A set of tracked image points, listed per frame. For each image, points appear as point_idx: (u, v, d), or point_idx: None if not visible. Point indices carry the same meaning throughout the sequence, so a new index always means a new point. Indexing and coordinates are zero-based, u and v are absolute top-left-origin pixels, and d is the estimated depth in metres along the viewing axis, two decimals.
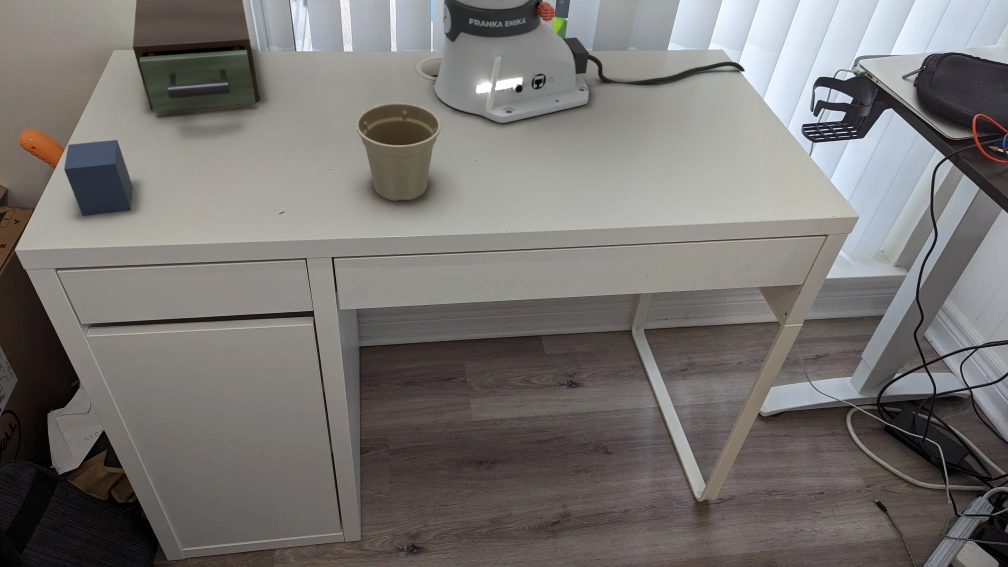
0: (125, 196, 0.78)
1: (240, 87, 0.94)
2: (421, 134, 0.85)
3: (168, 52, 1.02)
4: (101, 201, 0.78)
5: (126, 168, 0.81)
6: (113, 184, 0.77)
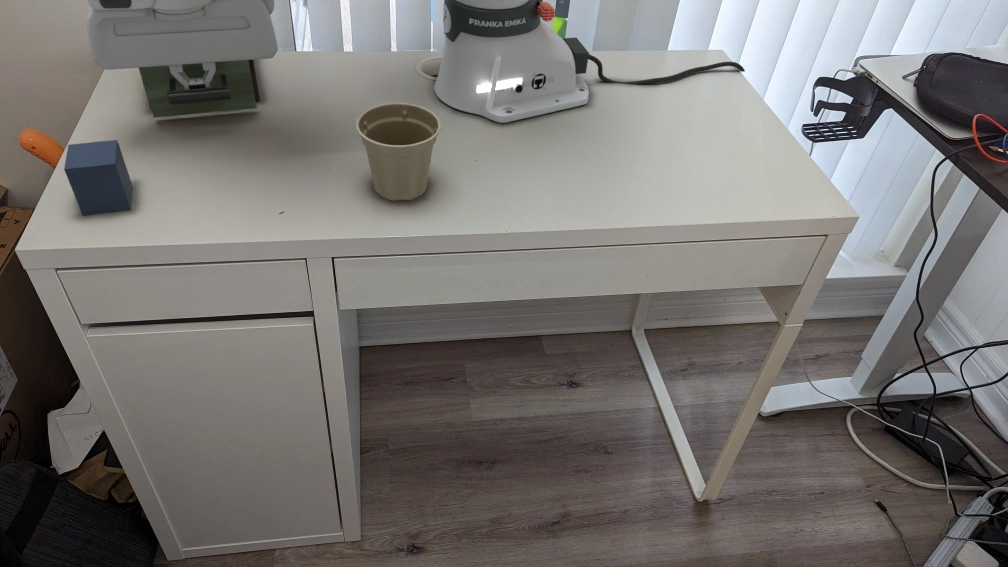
0: (125, 196, 0.78)
1: (241, 92, 0.93)
2: (421, 134, 0.85)
3: None
4: (101, 201, 0.78)
5: (126, 168, 0.81)
6: (113, 184, 0.77)
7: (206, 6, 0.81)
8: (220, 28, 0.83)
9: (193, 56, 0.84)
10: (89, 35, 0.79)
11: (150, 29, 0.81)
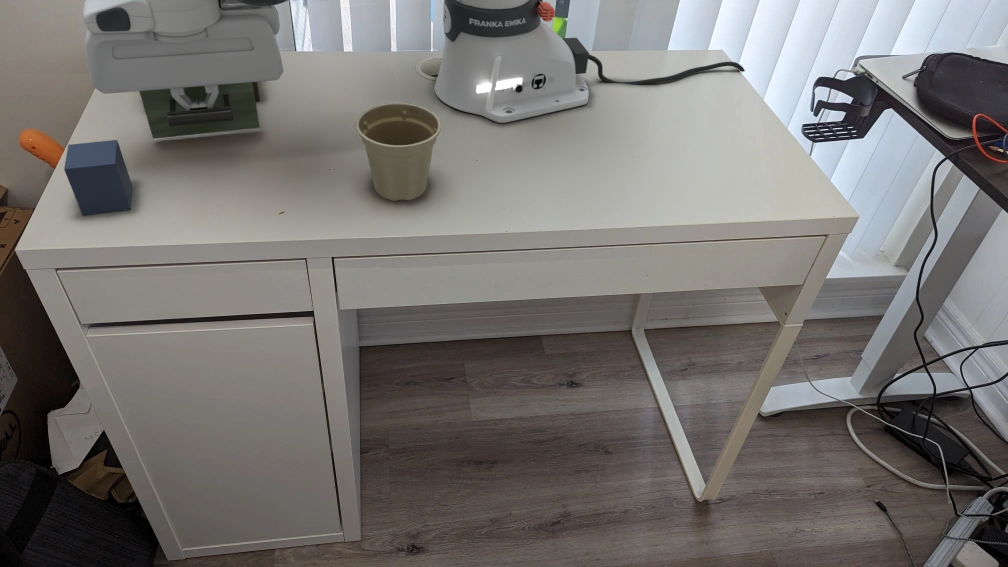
0: (125, 196, 0.78)
1: (244, 112, 0.90)
2: (421, 134, 0.85)
3: None
4: (101, 201, 0.78)
5: (126, 168, 0.81)
6: (113, 184, 0.77)
7: (209, 28, 0.78)
8: (223, 50, 0.80)
9: (195, 79, 0.81)
10: (87, 59, 0.76)
11: (150, 52, 0.78)
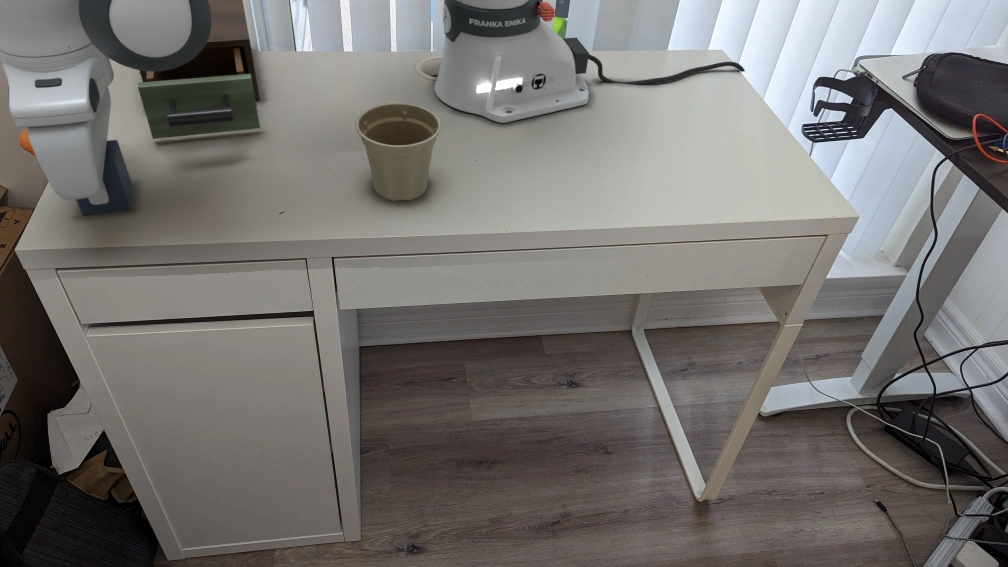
0: (125, 196, 0.78)
1: (244, 112, 0.90)
2: (421, 134, 0.85)
3: (168, 74, 0.97)
4: None
5: (126, 168, 0.81)
6: (113, 184, 0.77)
7: None
8: None
9: (105, 134, 0.76)
10: (92, 158, 0.67)
11: None
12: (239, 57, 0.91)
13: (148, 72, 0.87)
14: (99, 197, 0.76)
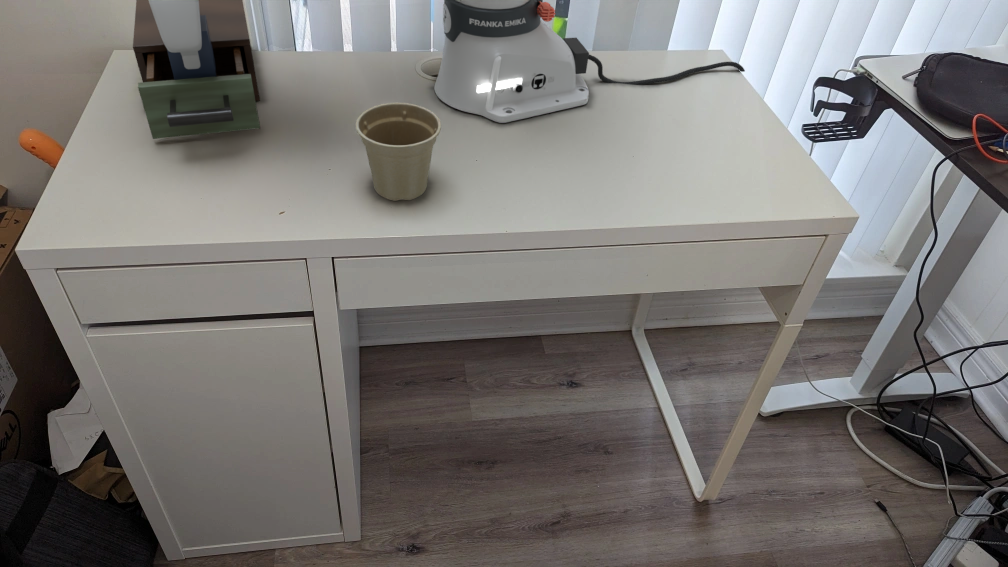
0: (213, 64, 0.88)
1: (244, 112, 0.90)
2: (421, 134, 0.85)
3: (168, 74, 0.97)
4: None
5: None
6: (203, 52, 0.86)
7: None
8: None
9: None
10: (197, 12, 0.76)
11: None
12: (239, 57, 0.91)
13: (148, 72, 0.87)
14: (192, 62, 0.85)
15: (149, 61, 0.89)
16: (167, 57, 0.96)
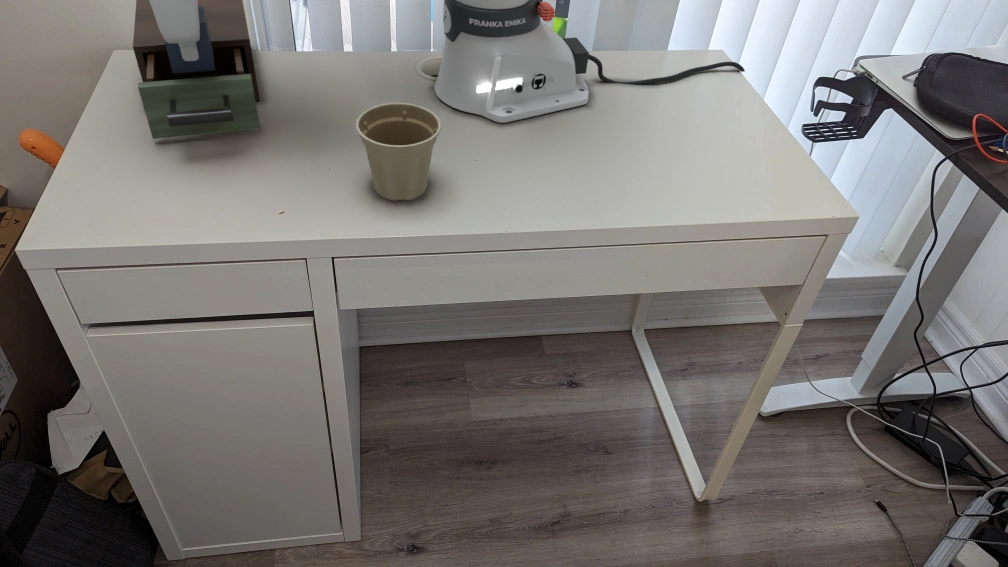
0: (211, 56, 0.87)
1: (244, 112, 0.90)
2: (421, 134, 0.85)
3: (168, 74, 0.97)
4: None
5: (209, 35, 0.90)
6: (202, 43, 0.86)
7: None
8: None
9: None
10: (195, 2, 0.76)
11: None
12: (239, 57, 0.91)
13: (148, 72, 0.87)
14: (191, 54, 0.85)
15: (149, 61, 0.89)
16: (167, 57, 0.96)
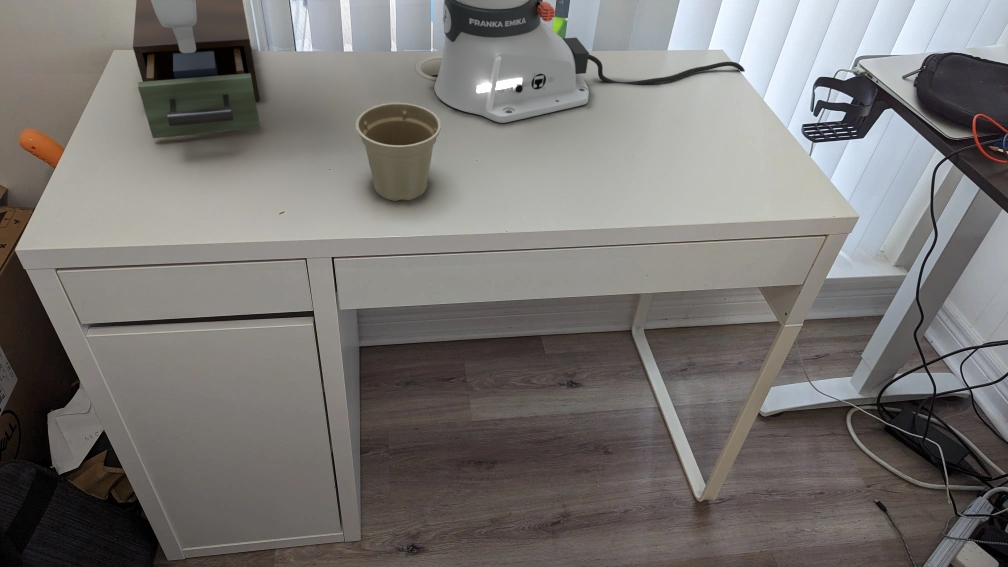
0: None
1: (243, 111, 0.90)
2: (421, 134, 0.85)
3: (168, 73, 0.97)
4: None
5: None
6: None
7: None
8: None
9: None
10: None
11: None
12: (239, 57, 0.92)
13: (148, 71, 0.87)
14: (188, 45, 0.82)
15: (149, 61, 0.89)
16: (167, 57, 0.96)
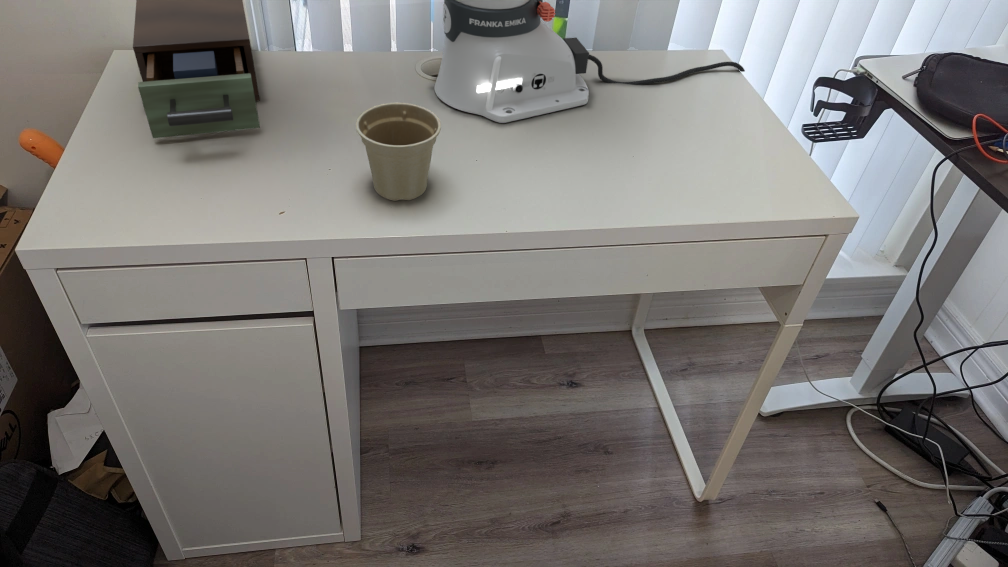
0: None
1: (243, 111, 0.90)
2: (421, 134, 0.85)
3: (168, 73, 0.97)
4: None
5: None
6: None
7: None
8: None
9: None
10: None
11: None
12: (239, 57, 0.92)
13: (148, 71, 0.87)
14: None
15: (149, 61, 0.89)
16: (167, 57, 0.96)
